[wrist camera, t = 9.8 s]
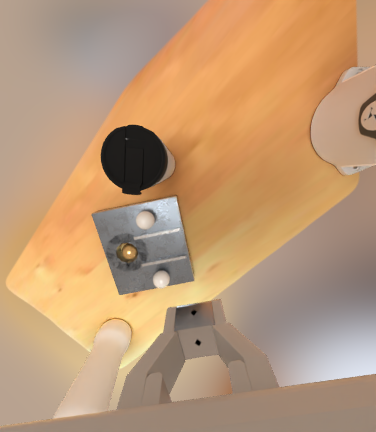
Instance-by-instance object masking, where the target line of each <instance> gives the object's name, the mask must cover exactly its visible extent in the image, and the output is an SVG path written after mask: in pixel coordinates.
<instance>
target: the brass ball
mask: <svg viewBox="0 0 376 432" xmlns="http://www.w3.org/2000/svg"><path fill="white" fill-rule="evenodd" d="M122 255H123V257H124V258H126V259H129V260H131V259H134V258H136V257H137V255H138V251H137V248H136V247H135V246H134V245H133V244H130V243H128V244H126V245H124V247H123V248H122Z"/></svg>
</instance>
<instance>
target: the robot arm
mask: <svg viewBox="0 0 376 432" xmlns="http://www.w3.org/2000/svg"><path fill="white" fill-rule="evenodd" d="M311 140H312V144H313V147H314V149H315V151H316V152H317V154H318V155H319V156H320V157H321V158H322V159H323V160H325V161H327V162H329V163H331V164H333V165H334V166H336V168H337V169H338V171H339V172H340V173H341V174H342V175H351V174H354V173H357V172H359V171H362V170H364V169H366V168H369V167H372V166H374V165H376V65H374V66H372V67H352V68H349V69H347V70H346V71H344V72H343V74H342V75H341V77H340V79H339V81H338V82H337V84H336V86H335V88H334V89H333V90H332V91H331V92H330V93H329V94H328V95H327V96H326V97H325V98H324V99H323V100H322V101H321V103H320V104H319V106H318V107H317V109H316V111H315V114H314V116H313V119H312V124H311ZM353 167H354V168H353ZM211 355H219V356H220V358H221V359H222V360H223V362H224V363H225V364H226V366H227V367H228V368H229V373H230V380H231V385H232V391H233V394H228V395H220V396H213V397H207V398H199V399H192V400H184V401H177V402H172V401H171V399H170V396H169V394H170V392H171V390H172V388H173V386H174V384H175V382H176V379H177V377H178V375H179V373H180V371H181V369H182V367H183V365H184V363H185V360H187V359H192V358H197V357H204V356H211ZM0 432H376V374H372V375H364V376H357V377H350V378H343V379H336V380H328V381H321V382H314V383H307V384H300V385H292V386H285V387H279V385H278V383H277V380H276V378H275V375H274V373H273V370H272V368H271V365H270V363H269V361H268V358H267V355H266V354H264V353H263V352H262V351H261V350H260V349H259V348H258V347H256V346H255V345H254V344H253V343H252V342H251V341H249V340H248V339H247V338H246V337H245V336H244V335H243V334H242V333H241V332H239V331H238V330H237V329H236V328H235V327H234V326H233V325H231V324H230V323H226V319H225V315H224V311H223V306H222V302H221V299H216V300H212V301H206V302H201V303H195V304H189V305H182V306H177V307H170V308H168V309H167V312H166V318H165V325H164V331H163V333H162V334H160V335H159V336H158V337H157V339H156V340H155V341H154V342H153V344H152V345H151V346H150V347H149V349H148V350H147V351H146V353H145V354H144V355H143V356H142V357H141V359H140V360H139V361H138V363H137V364H136V365H135V366H134V367H133V369H132V370H131V371H130V372H129V374H128V375H127V376H126V380H125V383H124V386H123V390H122V393H121V396H120V399H119V403H118V406H117V409H116V410H112V411H105V412H97V413H90V414H83V415H76V416H69V417H61V418H54V419H47V420H40V421H32V422H25V423H18V424H11V425H4V426H0Z"/></svg>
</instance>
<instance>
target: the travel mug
mask: <svg viewBox="0 0 376 432" xmlns="http://www.w3.org/2000/svg"><path fill="white" fill-rule="evenodd" d="M101 163H102V167H103V169H104V171H105V174H106V175H107V177H108V178H109V179H110V180H111V181H112V182H113V183H114V184H115V185H117V186H118V187H120V188H122V193H124V194H131V195H140V194H141V192H140V191H141V190H144V189H147V188H149V187H152V186H154V185H156V184H158V183H160V182H162V181H164V180H165V179H167V178H169V177H170V176H171V175H172V174H173V172H174V170H175V159H174V157H173V155H172V154H171V152H170V151H169V150H168V148H167V147H166V146H165V145H164V143H163V142H162V141H161V140H160V139H159V138H158V137H157V136H156V135H155V133H154V132H152V131H150V130H148V129H146V128H144V127H142V126H139V125H128V126H123V127H119V128H116V129H115V130H113V131H112V132H111V133H110V134H109V135H108V136H107V138H106V139H105V141H104V143H103V146H102V149H101Z"/></svg>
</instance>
